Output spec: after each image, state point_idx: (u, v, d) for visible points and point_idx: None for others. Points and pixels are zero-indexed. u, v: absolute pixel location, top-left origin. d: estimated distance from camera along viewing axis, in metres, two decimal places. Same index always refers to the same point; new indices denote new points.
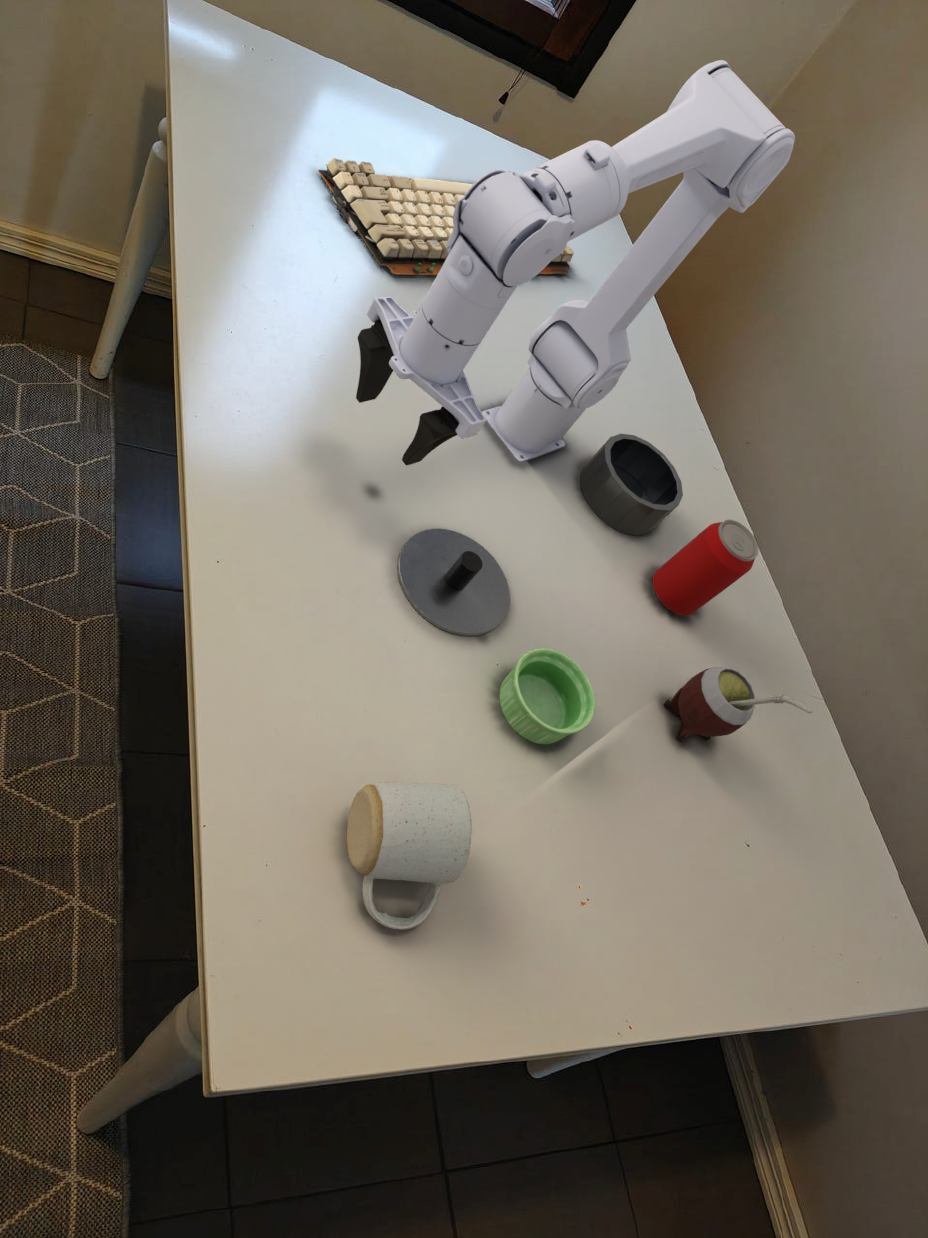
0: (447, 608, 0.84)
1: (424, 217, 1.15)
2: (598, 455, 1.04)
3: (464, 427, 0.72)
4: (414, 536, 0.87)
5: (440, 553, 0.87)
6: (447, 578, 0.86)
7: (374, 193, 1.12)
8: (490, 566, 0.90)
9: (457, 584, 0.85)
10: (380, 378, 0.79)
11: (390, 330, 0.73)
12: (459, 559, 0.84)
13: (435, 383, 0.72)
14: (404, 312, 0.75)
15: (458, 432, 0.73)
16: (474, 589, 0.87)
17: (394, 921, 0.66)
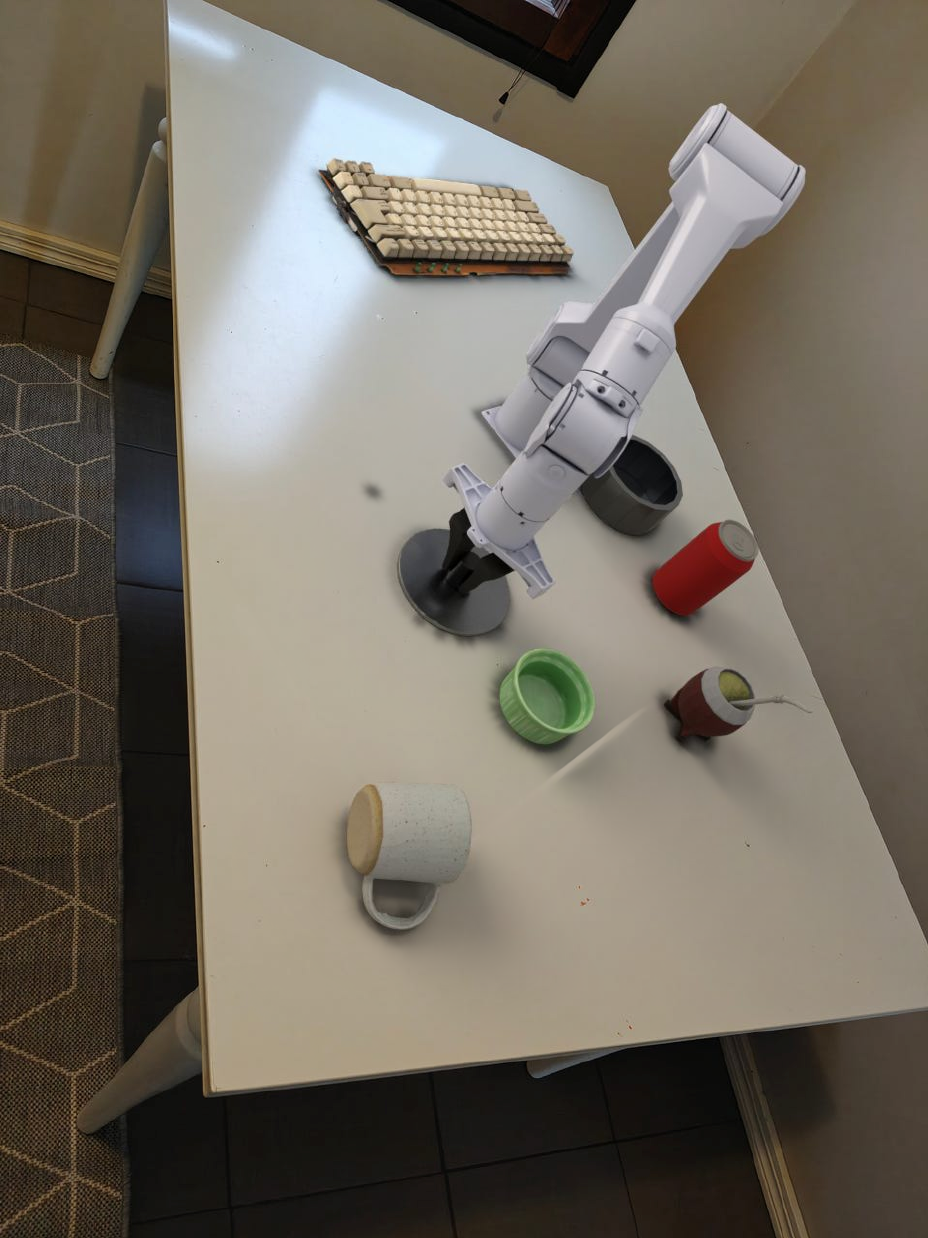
0: (447, 608, 0.84)
1: (424, 217, 1.15)
2: None
3: (535, 590, 0.78)
4: (414, 536, 0.87)
5: (440, 553, 0.87)
6: (447, 578, 0.86)
7: (374, 193, 1.12)
8: None
9: (457, 584, 0.85)
10: (465, 550, 0.85)
11: (466, 499, 0.79)
12: (459, 559, 0.84)
13: (509, 550, 0.78)
14: (477, 478, 0.81)
15: (529, 593, 0.79)
16: (475, 589, 0.87)
17: (394, 921, 0.66)
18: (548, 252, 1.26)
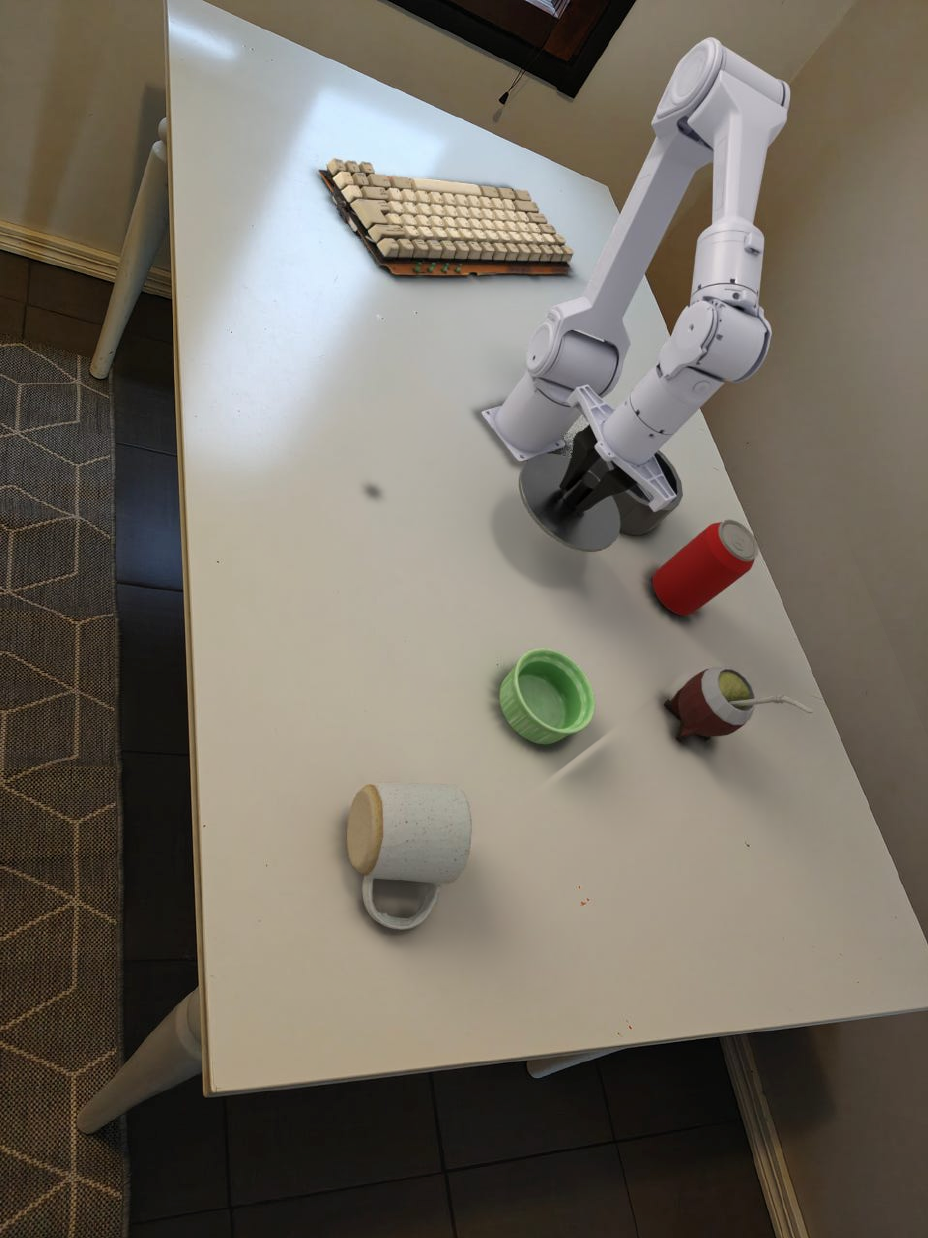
0: (566, 525, 0.88)
1: (424, 217, 1.15)
2: None
3: (658, 502, 0.83)
4: (532, 459, 0.91)
5: (556, 475, 0.92)
6: (564, 498, 0.90)
7: (374, 193, 1.12)
8: None
9: (574, 503, 0.90)
10: (583, 470, 0.89)
11: (592, 417, 0.83)
12: (578, 478, 0.88)
13: (633, 464, 0.82)
14: (600, 399, 0.85)
15: (651, 506, 0.83)
16: (589, 510, 0.91)
17: (394, 921, 0.66)
18: (548, 251, 1.26)
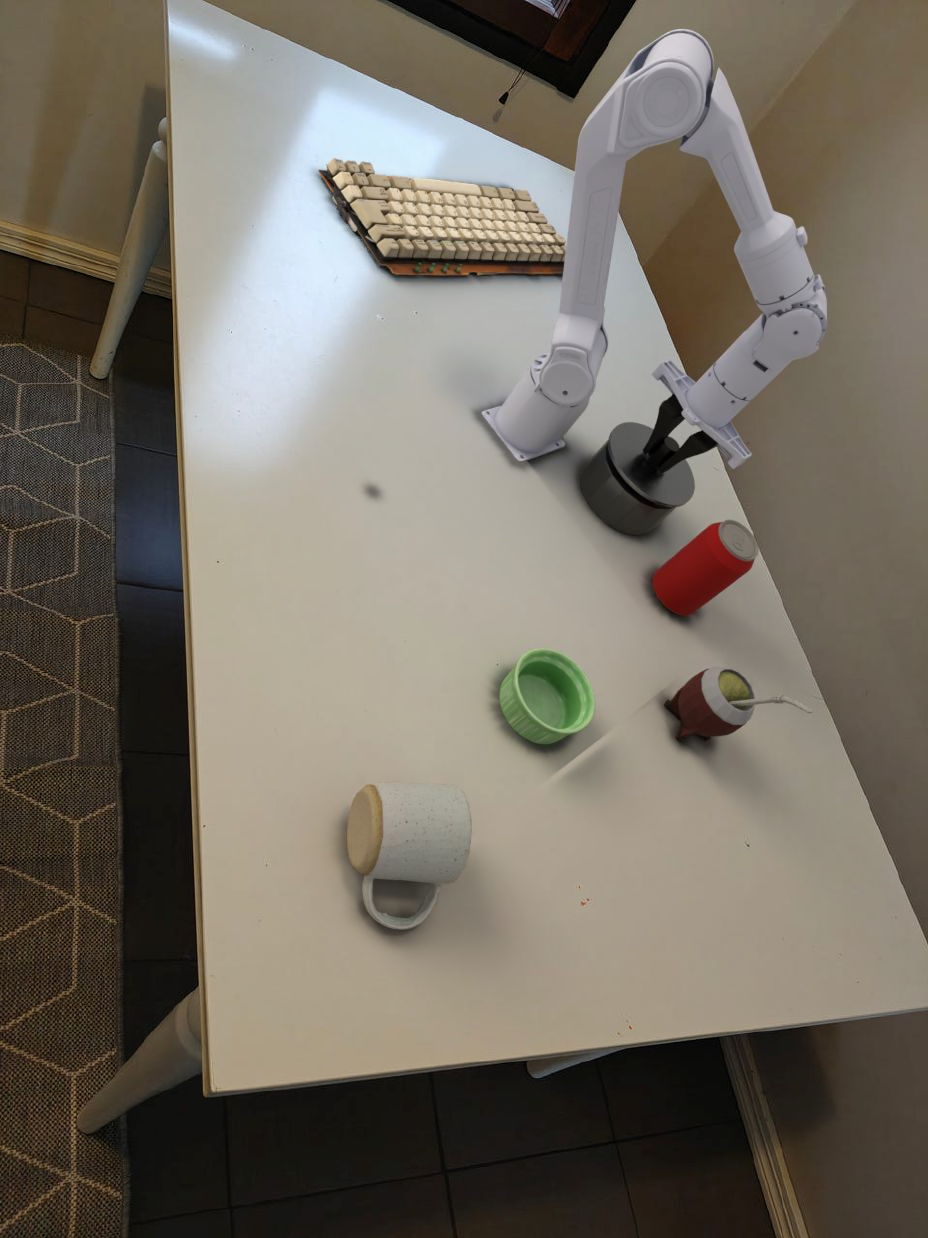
0: (651, 484, 1.01)
1: (424, 217, 1.15)
2: (598, 455, 1.04)
3: (737, 460, 0.95)
4: (617, 427, 1.03)
5: (638, 441, 1.04)
6: (648, 460, 1.02)
7: (374, 193, 1.12)
8: None
9: (657, 465, 1.02)
10: (664, 435, 1.01)
11: (677, 387, 0.95)
12: (661, 442, 1.01)
13: (715, 428, 0.95)
14: (681, 372, 0.98)
15: (730, 464, 0.96)
16: (668, 471, 1.04)
17: (394, 921, 0.66)
18: (548, 252, 1.26)
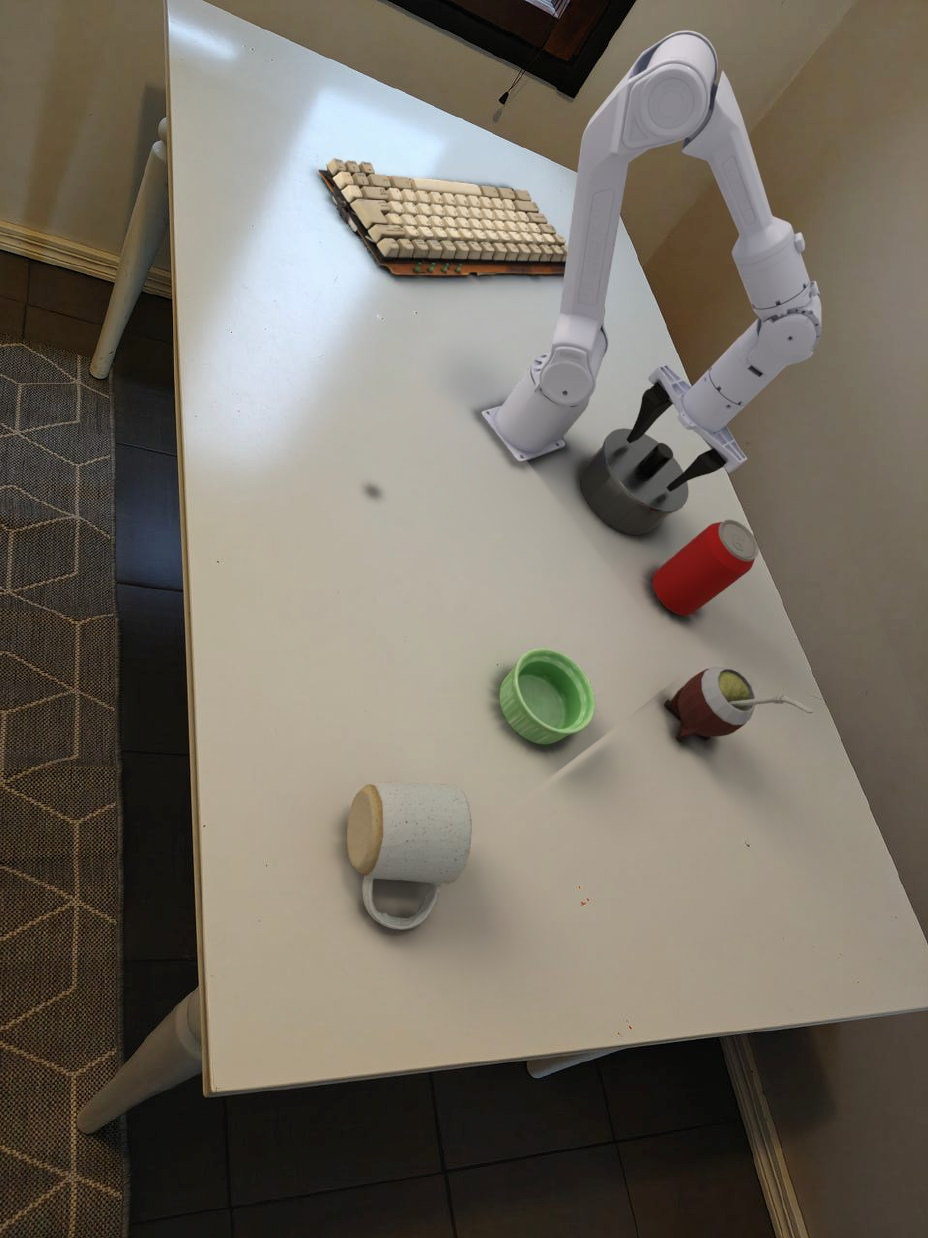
0: (645, 490, 1.02)
1: (424, 217, 1.15)
2: (598, 455, 1.04)
3: (732, 464, 0.96)
4: (611, 433, 1.04)
5: (632, 447, 1.05)
6: (641, 467, 1.03)
7: (374, 193, 1.12)
8: (669, 460, 1.07)
9: (651, 471, 1.03)
10: (648, 424, 1.02)
11: (673, 392, 0.96)
12: (655, 449, 1.01)
13: (710, 432, 0.95)
14: (677, 376, 0.98)
15: (726, 468, 0.96)
16: (662, 477, 1.05)
17: (394, 921, 0.66)
18: (548, 251, 1.26)
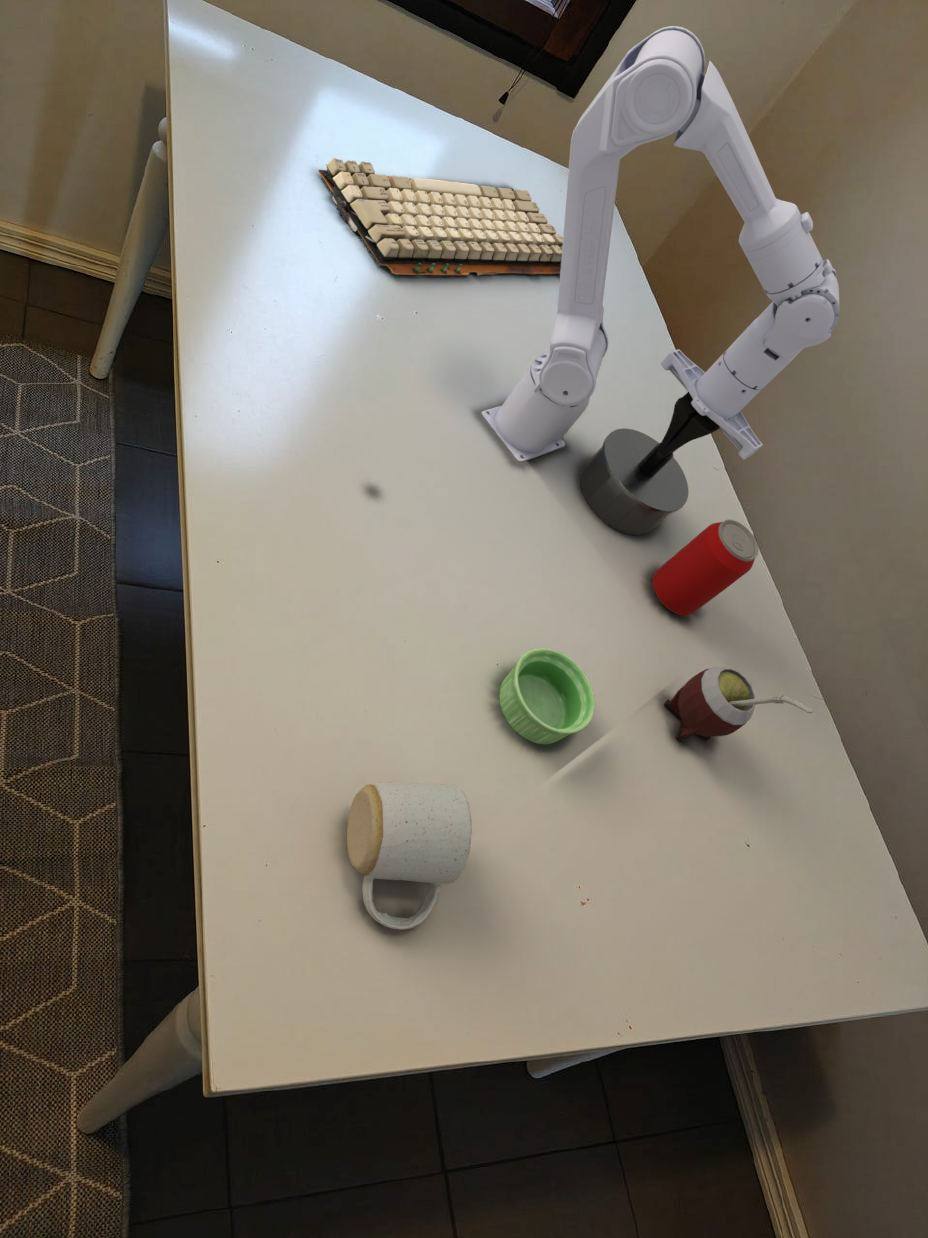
0: (645, 490, 1.02)
1: (424, 217, 1.15)
2: (598, 455, 1.04)
3: (747, 451, 0.94)
4: (611, 433, 1.04)
5: (632, 447, 1.05)
6: (641, 467, 1.03)
7: (374, 193, 1.12)
8: (669, 460, 1.07)
9: (651, 471, 1.03)
10: (680, 434, 1.00)
11: (687, 377, 0.94)
12: (655, 449, 1.01)
13: (725, 418, 0.93)
14: (690, 361, 0.96)
15: (741, 454, 0.94)
16: (662, 477, 1.05)
17: (394, 921, 0.66)
18: (548, 252, 1.26)
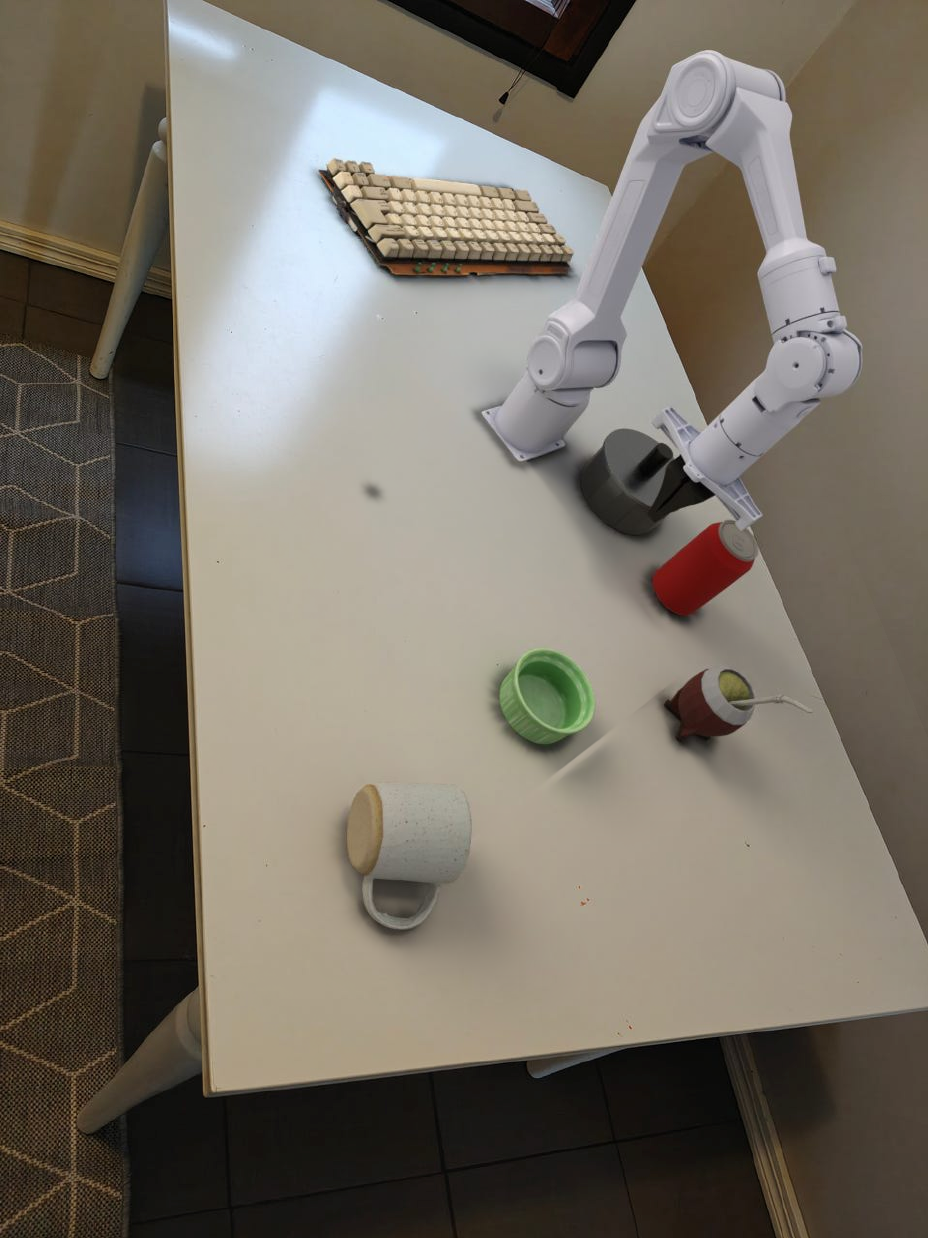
0: (645, 490, 1.02)
1: (424, 217, 1.15)
2: (598, 455, 1.04)
3: (745, 522, 0.84)
4: (611, 433, 1.04)
5: (632, 447, 1.05)
6: (641, 467, 1.03)
7: (374, 193, 1.12)
8: (669, 460, 1.07)
9: (651, 471, 1.03)
10: (672, 498, 0.90)
11: (679, 438, 0.85)
12: (655, 449, 1.01)
13: (721, 485, 0.84)
14: (684, 420, 0.87)
15: (738, 525, 0.85)
16: (662, 477, 1.05)
17: (394, 921, 0.66)
18: (548, 252, 1.26)
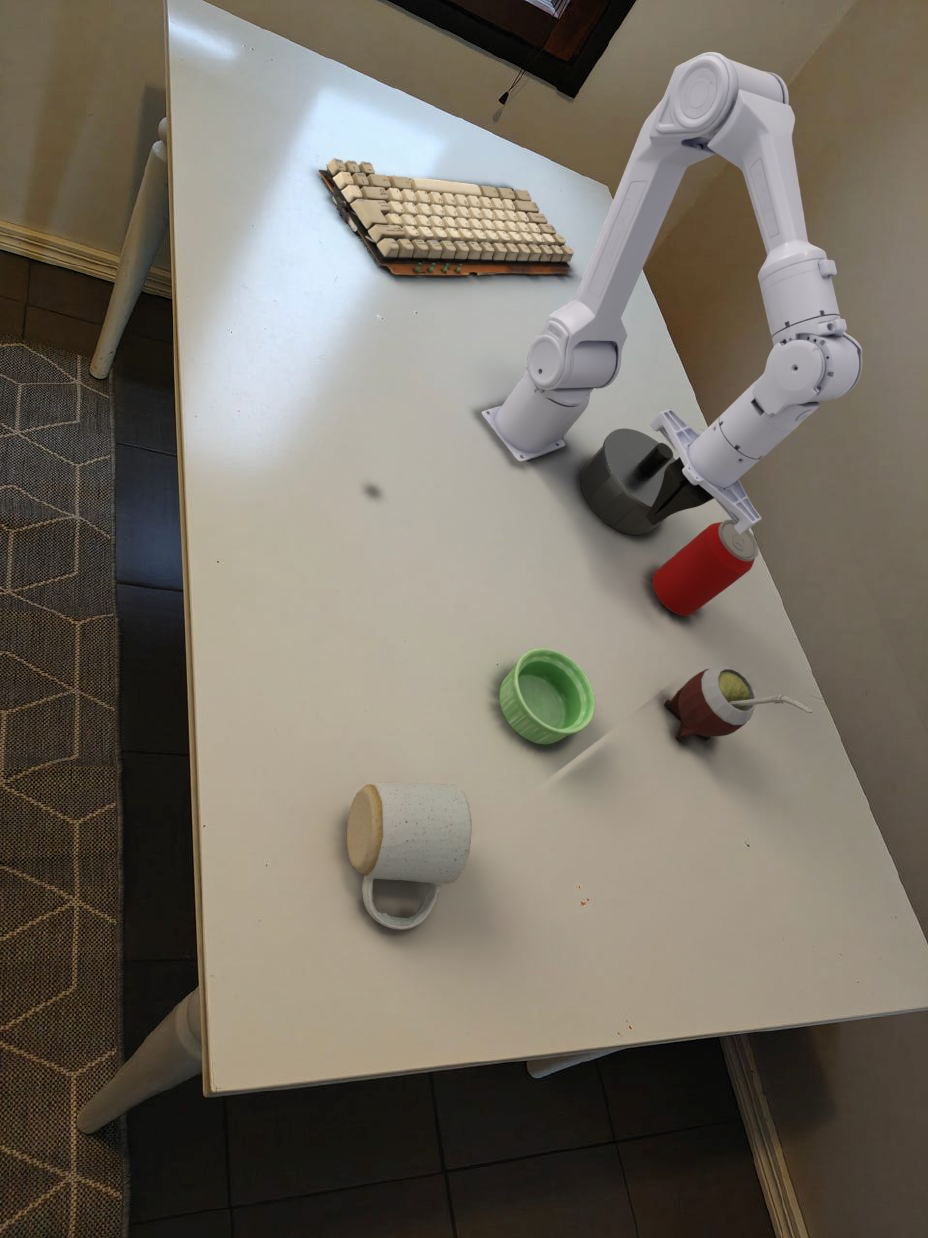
0: (645, 490, 1.02)
1: (424, 217, 1.15)
2: (598, 455, 1.04)
3: (744, 525, 0.84)
4: (611, 433, 1.04)
5: (632, 447, 1.05)
6: (641, 467, 1.03)
7: (374, 193, 1.12)
8: (669, 460, 1.07)
9: (651, 471, 1.03)
10: (670, 500, 0.90)
11: (678, 441, 0.84)
12: (655, 449, 1.01)
13: (720, 488, 0.84)
14: (683, 422, 0.87)
15: (737, 528, 0.84)
16: (662, 477, 1.05)
17: (394, 921, 0.66)
18: (548, 252, 1.26)
